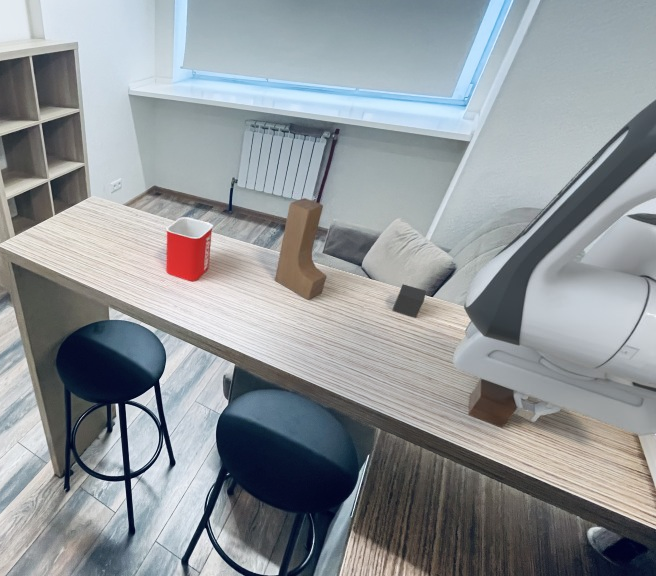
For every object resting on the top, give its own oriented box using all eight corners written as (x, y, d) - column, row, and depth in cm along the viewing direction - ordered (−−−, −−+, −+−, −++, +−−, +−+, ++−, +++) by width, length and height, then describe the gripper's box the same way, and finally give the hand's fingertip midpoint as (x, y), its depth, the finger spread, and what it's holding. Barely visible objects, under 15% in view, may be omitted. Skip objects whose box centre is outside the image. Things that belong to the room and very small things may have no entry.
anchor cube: (418, 307, 80) (426, 290, 77) (415, 318, 77) (423, 301, 75) (395, 300, 81) (402, 284, 79) (392, 310, 79) (399, 294, 77)
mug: (195, 283, 87) (198, 240, 81) (162, 272, 91) (162, 230, 85) (219, 259, 96) (223, 217, 89) (188, 250, 99) (190, 209, 93)
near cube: (501, 408, 60) (515, 390, 57) (502, 428, 57) (516, 409, 55) (469, 396, 62) (481, 378, 59) (468, 414, 59) (480, 396, 57)
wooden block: (322, 293, 84) (345, 212, 73) (308, 301, 82) (330, 219, 71) (287, 274, 90) (304, 197, 80) (273, 280, 88) (289, 202, 78)
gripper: (475, 323, 52) (432, 395, 60) (716, 397, 42) (625, 471, 50) (477, 298, 56) (437, 369, 64) (697, 360, 46) (617, 434, 54)
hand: (521, 414), depth 57 cm, fingers closed
